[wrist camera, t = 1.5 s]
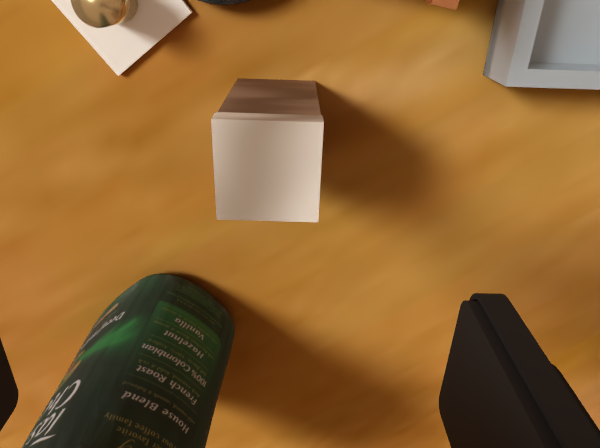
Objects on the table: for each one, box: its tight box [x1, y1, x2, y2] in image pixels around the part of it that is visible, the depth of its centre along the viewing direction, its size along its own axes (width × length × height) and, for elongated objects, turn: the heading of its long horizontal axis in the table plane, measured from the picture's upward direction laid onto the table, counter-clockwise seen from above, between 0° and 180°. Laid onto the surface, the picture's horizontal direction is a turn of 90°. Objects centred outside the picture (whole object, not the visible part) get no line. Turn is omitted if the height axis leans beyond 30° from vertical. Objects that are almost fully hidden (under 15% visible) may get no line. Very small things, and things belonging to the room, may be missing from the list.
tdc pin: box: [71, 0, 138, 28], centre depth 21 cm, size 2×2×3 cm
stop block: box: [211, 79, 324, 222], centre depth 22 cm, size 4×4×8 cm
